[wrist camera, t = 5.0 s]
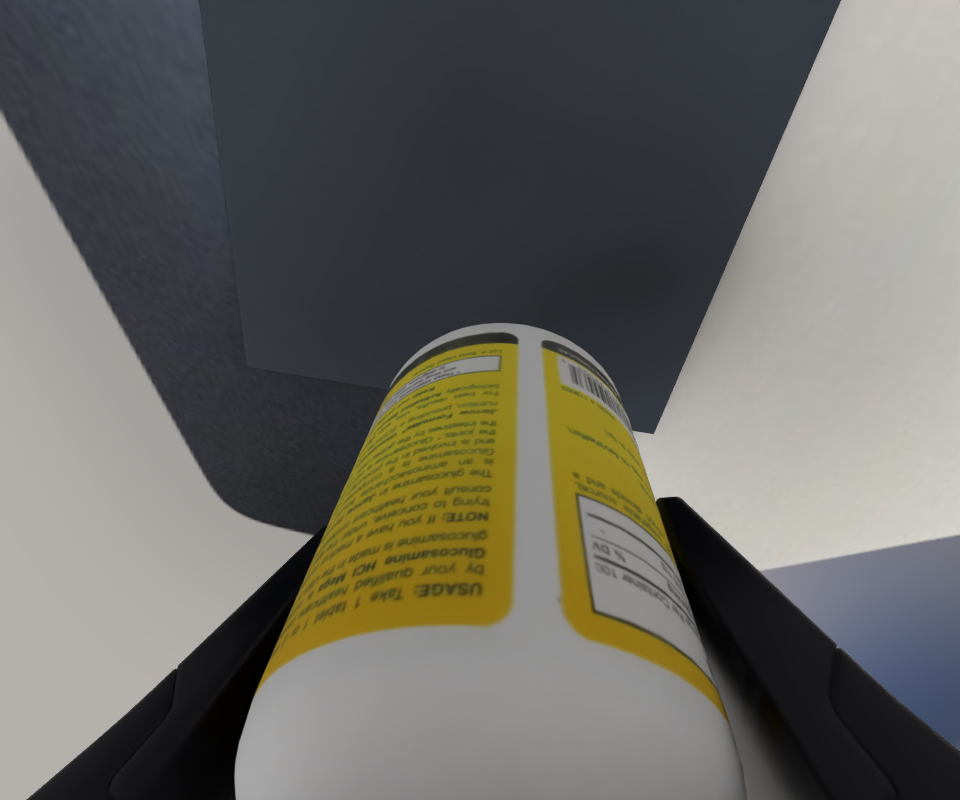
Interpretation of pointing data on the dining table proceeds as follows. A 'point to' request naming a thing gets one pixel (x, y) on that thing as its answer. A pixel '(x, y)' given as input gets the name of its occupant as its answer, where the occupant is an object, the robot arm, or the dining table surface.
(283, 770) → the pill bottle
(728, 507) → the dining table surface
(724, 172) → the left mat
